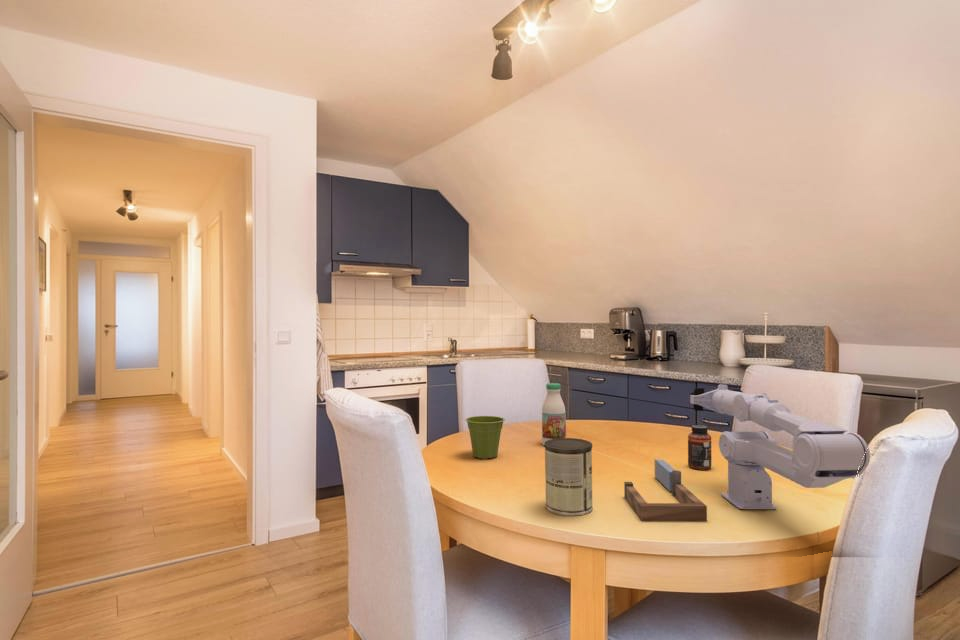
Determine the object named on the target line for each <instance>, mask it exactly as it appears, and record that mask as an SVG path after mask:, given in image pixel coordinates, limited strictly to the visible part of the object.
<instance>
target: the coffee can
mask: <svg viewBox="0 0 960 640" xmlns="http://www.w3.org/2000/svg"><path fill="white" fill-rule="evenodd" d="M544 444H545V446H544V457H545V458H544V460H545V461H544V462H545V463H544V464H545V465H544V466H545V467H544V469H545V471H544V473H545V508H546V510H547V511H548V512H550V513H553V514H556V515H561V516H567V517H568V516H569V517H572V516H573V517H575V516H576V517H577V516H584V515H587V514H589V513H591V512H592V511H593V509H594V507H593V456H592V455H593V451H592V450H593V442H591V441H589V440H585V439H581V438H573V437H572V438H571V437H566V438H557V439H551V440H548V441H546V442H545V443H544Z"/></svg>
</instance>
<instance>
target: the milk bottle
mask: <svg viewBox="0 0 960 640" xmlns="http://www.w3.org/2000/svg"><path fill="white" fill-rule="evenodd" d="M561 387H562V386H561V383H558V382H549V383H546V396H545V398H544V401H543V404H542V407H541V444H542V446H544V445H545V444H544V443H545V442H546V441H548V440H551V439H557V438H567V427H566V425H567V419H566V418H567V417H566V415H567V413H566V406H565V404H564V401H563V399H562V396H561Z"/></svg>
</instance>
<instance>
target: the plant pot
mask: <svg viewBox="0 0 960 640" xmlns="http://www.w3.org/2000/svg"><path fill="white" fill-rule="evenodd" d="M464 420H465V421H466V423H467V427H468V431H469V436H470V437H469V438H470V442H471V444H470V445H471V450H472V455H473V457H474V458H478V459H480V458H484V459H483V460H487V459H486V458H490V459H492V458H497V457H496V456H498V454H499V453H498V452H499V446H500V440H501V433H502V430H503V425H504V422H505V421H506V418H504V417H500V416H496V415H495V416H493V415H475V416H469V417H466V418H465V419H464Z"/></svg>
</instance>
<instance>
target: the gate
mask: <svg viewBox="0 0 960 640" xmlns="http://www.w3.org/2000/svg"><path fill="white" fill-rule="evenodd" d="M673 470H676V469H675V468H674V467H673V466H671V465H670V464H669V463H668V462H667V461H666V460H664V459H663V458H654V478H656V479H657V480H658V481H659V482H660V483H661V485H663V487H664V488H666V489H667V490H668V491H669V492H672V471H673Z"/></svg>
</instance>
